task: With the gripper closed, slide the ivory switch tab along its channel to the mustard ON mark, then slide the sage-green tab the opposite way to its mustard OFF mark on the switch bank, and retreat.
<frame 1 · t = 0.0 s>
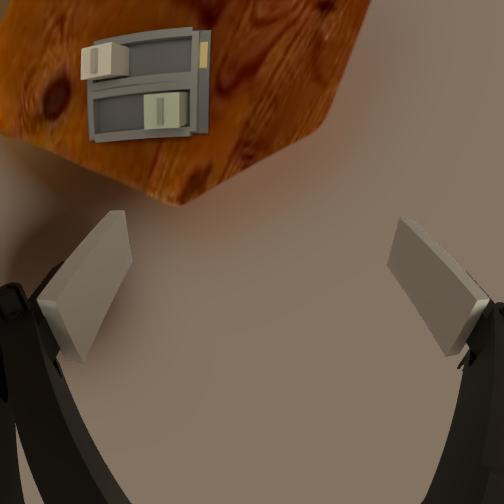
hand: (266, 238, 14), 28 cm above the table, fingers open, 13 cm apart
ivory tab: (104, 62, 27), point 5 cm above the table, slide at -4.0 cm
sage tab: (166, 109, 31), point 5 cm above the table, slide at 4.0 cm
switch bank: (145, 84, 33), on the table
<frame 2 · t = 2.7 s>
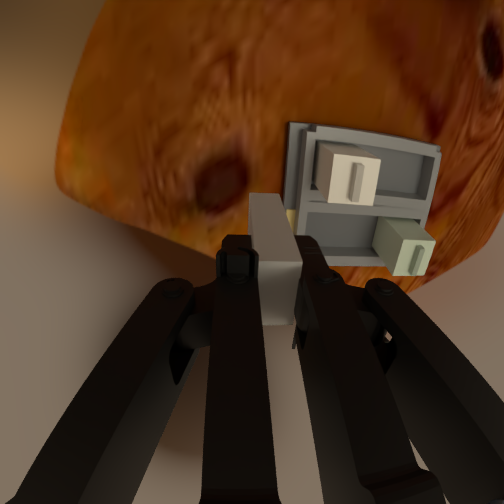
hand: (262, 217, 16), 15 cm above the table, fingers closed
ivory tab: (344, 171, 24), point 5 cm above the table, slide at -4.0 cm
sage tab: (403, 245, 28), point 5 cm above the table, slide at 4.0 cm
switch bank: (361, 194, 30), on the table
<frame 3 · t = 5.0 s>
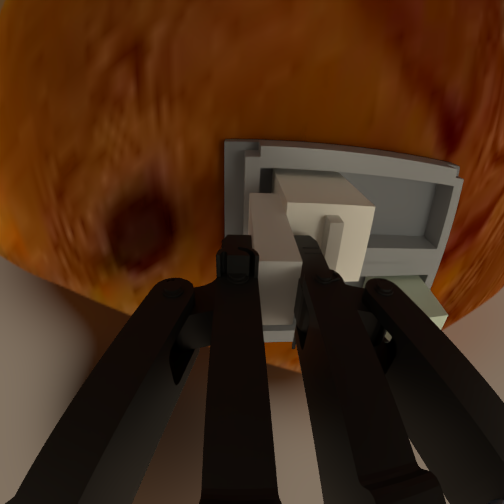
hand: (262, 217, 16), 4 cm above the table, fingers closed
ivory tab: (314, 221, 16), point 5 cm above the table, slide at -3.6 cm, touching gripper
sage tab: (400, 315, 19), point 5 cm above the table, slide at 4.0 cm
switch bank: (342, 241, 21), on the table
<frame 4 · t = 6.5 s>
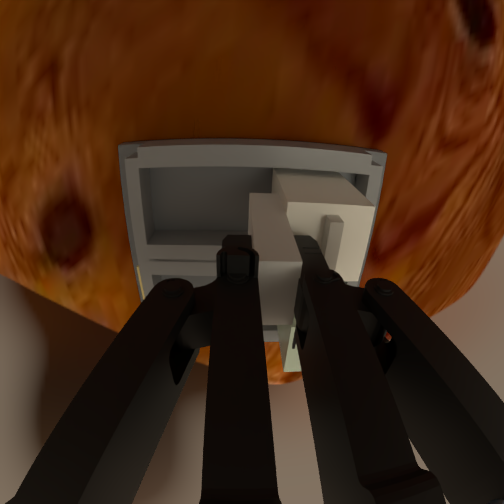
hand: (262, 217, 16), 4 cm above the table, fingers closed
ivory tab: (314, 221, 16), point 5 cm above the table, slide at 3.1 cm, touching gripper
sage tab: (312, 320, 19), point 5 cm above the table, slide at 4.0 cm
switch bank: (250, 239, 21), on the table
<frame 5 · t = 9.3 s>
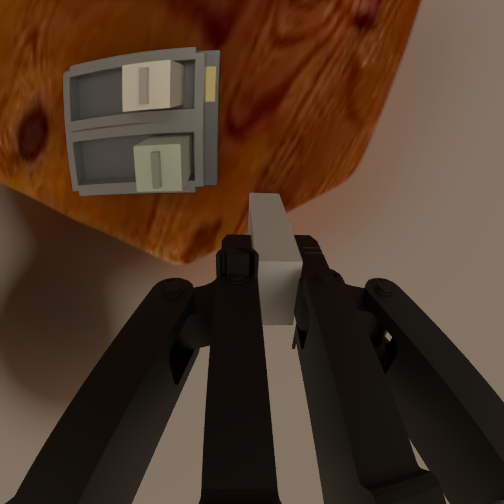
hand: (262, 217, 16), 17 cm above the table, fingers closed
ivory tab: (154, 85, 22), point 5 cm above the table, slide at 3.2 cm
sage tab: (164, 161, 25), point 5 cm above the table, slide at 4.0 cm
switch bank: (137, 121, 27), on the table
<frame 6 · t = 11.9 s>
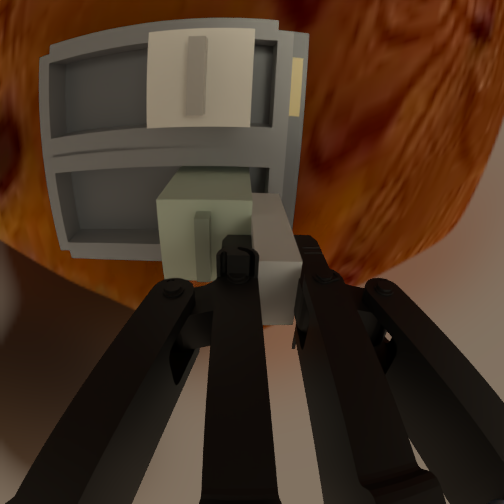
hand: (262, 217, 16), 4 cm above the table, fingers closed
ivory tab: (206, 79, 12), point 5 cm above the table, slide at 3.2 cm
sage tab: (209, 219, 15), point 5 cm above the table, slide at 3.4 cm, touching gripper
switch bank: (162, 138, 17), on the table
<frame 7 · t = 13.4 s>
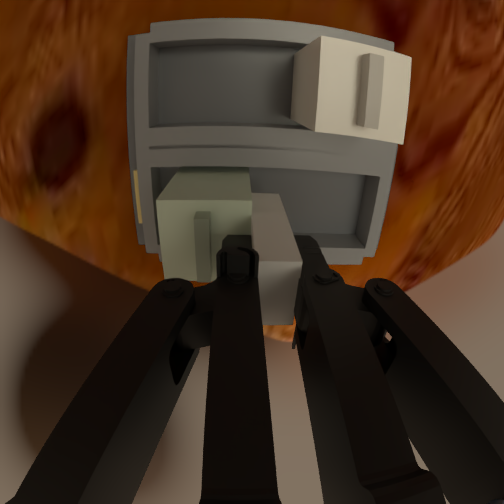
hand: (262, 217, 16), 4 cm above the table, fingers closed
ivory tab: (345, 90, 12), point 5 cm above the table, slide at 3.2 cm
sage tab: (209, 219, 15), point 5 cm above the table, slide at -3.1 cm, touching gripper
switch bank: (266, 139, 18), on the table
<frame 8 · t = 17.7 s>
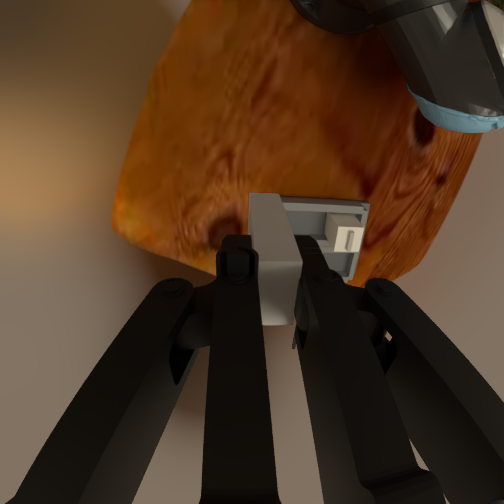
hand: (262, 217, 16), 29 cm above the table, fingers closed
ivory tab: (343, 231, 44), point 5 cm above the table, slide at 3.2 cm
switch bank: (314, 237, 50), on the table
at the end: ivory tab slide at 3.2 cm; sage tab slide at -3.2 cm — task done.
